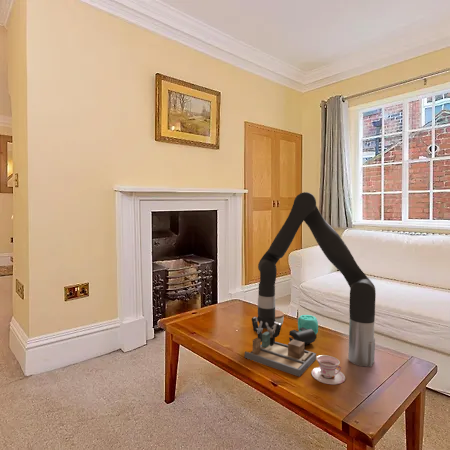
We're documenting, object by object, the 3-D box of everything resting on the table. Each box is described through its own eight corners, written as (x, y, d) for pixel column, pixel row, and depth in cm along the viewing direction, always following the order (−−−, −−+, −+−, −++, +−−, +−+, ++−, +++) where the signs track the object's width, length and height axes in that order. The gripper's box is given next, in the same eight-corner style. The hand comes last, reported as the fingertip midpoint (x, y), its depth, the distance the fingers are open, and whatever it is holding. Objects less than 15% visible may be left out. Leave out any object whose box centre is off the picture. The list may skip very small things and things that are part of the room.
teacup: (305, 375, 118) (305, 359, 117) (321, 364, 126) (322, 349, 125) (335, 389, 109) (335, 372, 108) (351, 376, 117) (351, 360, 117)
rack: (316, 359, 130) (316, 353, 130) (299, 376, 116) (299, 370, 116) (264, 343, 144) (264, 338, 144) (244, 357, 131) (244, 351, 131)
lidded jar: (283, 332, 157) (284, 313, 157) (262, 331, 159) (262, 312, 158) (283, 324, 168) (283, 307, 167) (262, 323, 169) (263, 305, 169)
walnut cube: (304, 354, 130) (304, 342, 130) (299, 358, 126) (299, 346, 126) (293, 350, 133) (293, 339, 133) (287, 355, 129) (288, 343, 129)
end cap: (299, 350, 138) (299, 335, 137) (288, 344, 144) (288, 329, 143) (315, 345, 143) (316, 330, 143) (304, 339, 149) (304, 325, 149)
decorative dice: (318, 336, 152) (318, 320, 152) (301, 336, 152) (301, 320, 152) (313, 330, 160) (313, 314, 160) (297, 330, 160) (297, 314, 160)
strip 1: (302, 366, 122) (302, 350, 122) (296, 371, 118) (297, 354, 118) (257, 351, 134) (257, 336, 134) (251, 356, 130) (251, 341, 130)
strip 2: (311, 357, 130) (311, 341, 129) (303, 364, 123) (304, 348, 123) (268, 344, 142) (268, 329, 141) (259, 350, 135) (259, 335, 135)
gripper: (285, 306, 136) (284, 344, 137) (256, 300, 144) (256, 336, 145) (277, 310, 129) (276, 351, 131) (247, 304, 138) (247, 342, 139)
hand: (265, 343), depth 138 cm, fingers open, 5 cm apart
